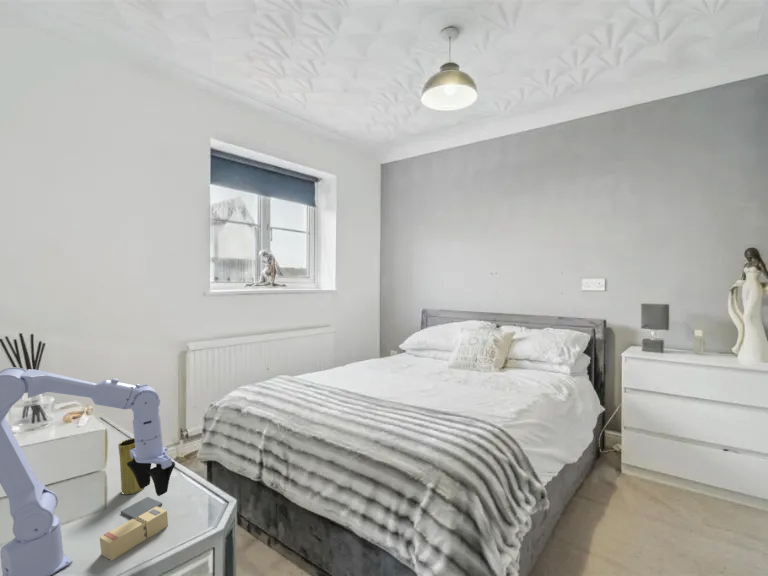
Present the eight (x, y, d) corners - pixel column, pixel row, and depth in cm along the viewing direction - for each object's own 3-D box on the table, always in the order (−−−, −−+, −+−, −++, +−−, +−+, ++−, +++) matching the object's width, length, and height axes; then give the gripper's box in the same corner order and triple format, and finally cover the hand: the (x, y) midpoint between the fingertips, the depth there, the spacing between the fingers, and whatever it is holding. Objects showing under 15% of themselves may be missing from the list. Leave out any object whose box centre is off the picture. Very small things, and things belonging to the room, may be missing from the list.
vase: (133, 495, 111) (129, 447, 110) (115, 494, 112) (111, 446, 112) (150, 483, 117) (146, 437, 116) (133, 482, 118) (128, 437, 118)
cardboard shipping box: (111, 560, 86) (109, 542, 85) (101, 554, 88) (99, 536, 88) (146, 539, 92) (144, 522, 92) (136, 533, 94) (134, 517, 94)
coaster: (135, 520, 100) (135, 518, 99) (120, 513, 103) (120, 511, 103) (162, 505, 106) (162, 503, 106) (147, 498, 109) (147, 496, 109)
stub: (147, 539, 92) (146, 522, 92) (137, 533, 94) (135, 517, 94) (168, 526, 97) (166, 510, 96) (158, 521, 99) (156, 505, 99)
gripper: (181, 434, 95) (186, 488, 96) (148, 425, 102) (153, 475, 103) (152, 446, 89) (157, 504, 90) (119, 436, 96) (124, 489, 97)
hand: (153, 490), depth 96 cm, fingers open, 7 cm apart
